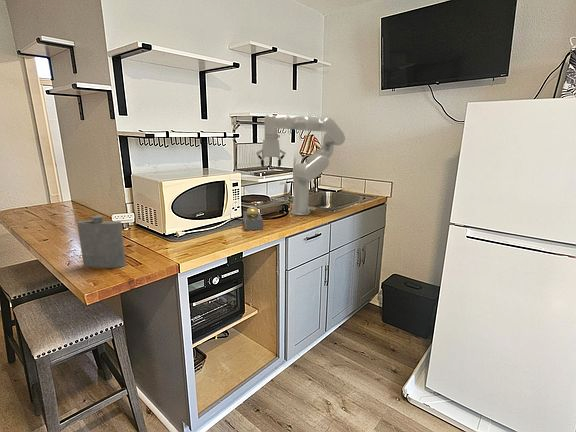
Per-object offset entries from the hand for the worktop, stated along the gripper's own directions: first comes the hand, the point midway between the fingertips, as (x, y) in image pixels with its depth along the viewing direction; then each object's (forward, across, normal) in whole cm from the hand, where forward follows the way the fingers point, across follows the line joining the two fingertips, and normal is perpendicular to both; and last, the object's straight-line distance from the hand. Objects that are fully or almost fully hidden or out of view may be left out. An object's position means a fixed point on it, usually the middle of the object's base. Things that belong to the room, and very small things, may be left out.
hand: (270, 166), depth 196 cm
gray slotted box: (+30, +13, +17) cm, 37 cm away
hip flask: (+31, +75, +64) cm, 104 cm away
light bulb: (+30, +13, +17) cm, 37 cm away
